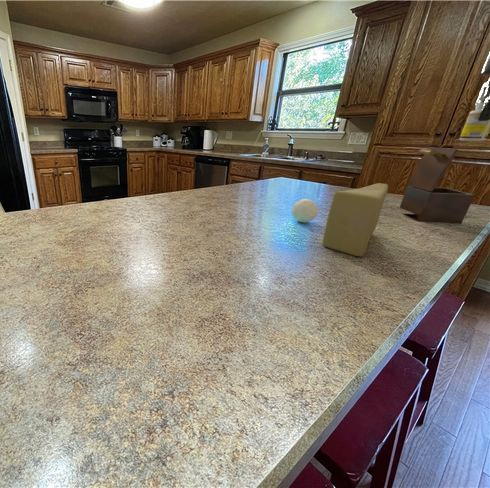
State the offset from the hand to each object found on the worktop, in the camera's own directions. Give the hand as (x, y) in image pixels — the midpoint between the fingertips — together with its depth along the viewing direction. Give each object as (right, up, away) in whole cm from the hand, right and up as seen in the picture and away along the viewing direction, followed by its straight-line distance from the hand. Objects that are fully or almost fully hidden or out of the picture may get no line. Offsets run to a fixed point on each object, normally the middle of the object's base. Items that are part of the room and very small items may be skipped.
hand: (479, 120), depth 79 cm
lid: (-4, -11, +11) cm, 16 cm away
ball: (-47, -29, +11) cm, 56 cm away
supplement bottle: (0, -5, +2) cm, 6 cm away
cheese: (-40, -36, -5) cm, 54 cm away
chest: (+1, -27, +17) cm, 32 cm away
